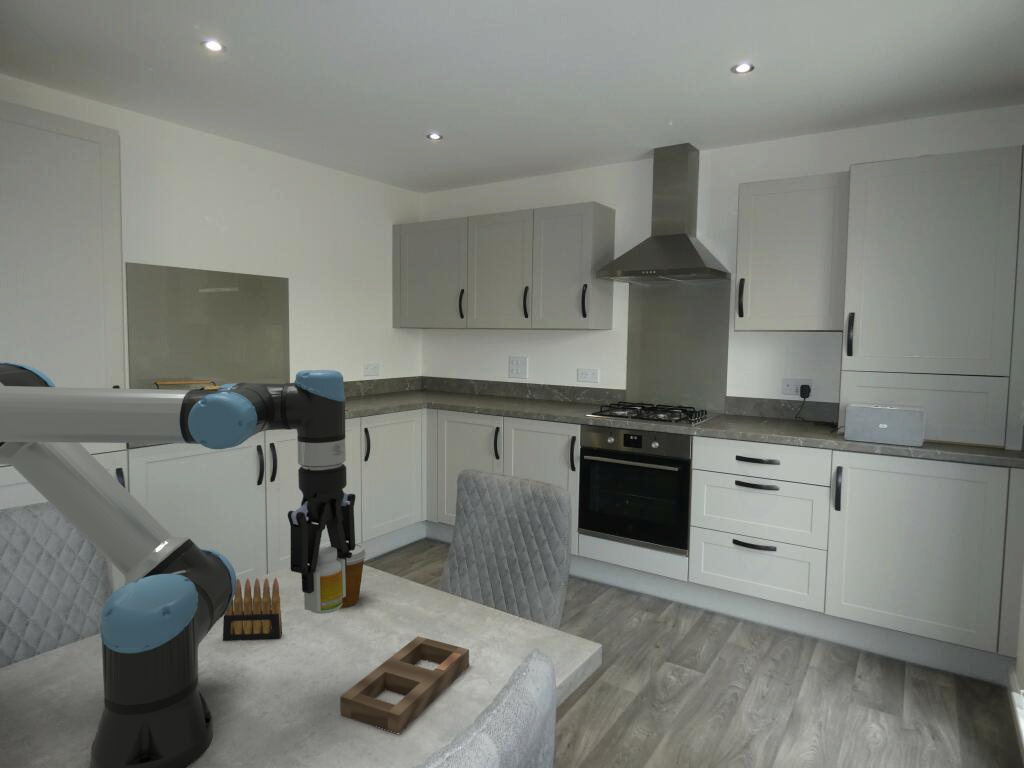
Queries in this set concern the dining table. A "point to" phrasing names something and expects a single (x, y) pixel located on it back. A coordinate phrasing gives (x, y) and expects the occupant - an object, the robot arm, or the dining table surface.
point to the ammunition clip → (253, 614)
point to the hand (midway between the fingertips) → (325, 602)
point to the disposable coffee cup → (353, 576)
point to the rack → (404, 684)
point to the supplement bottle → (329, 580)
